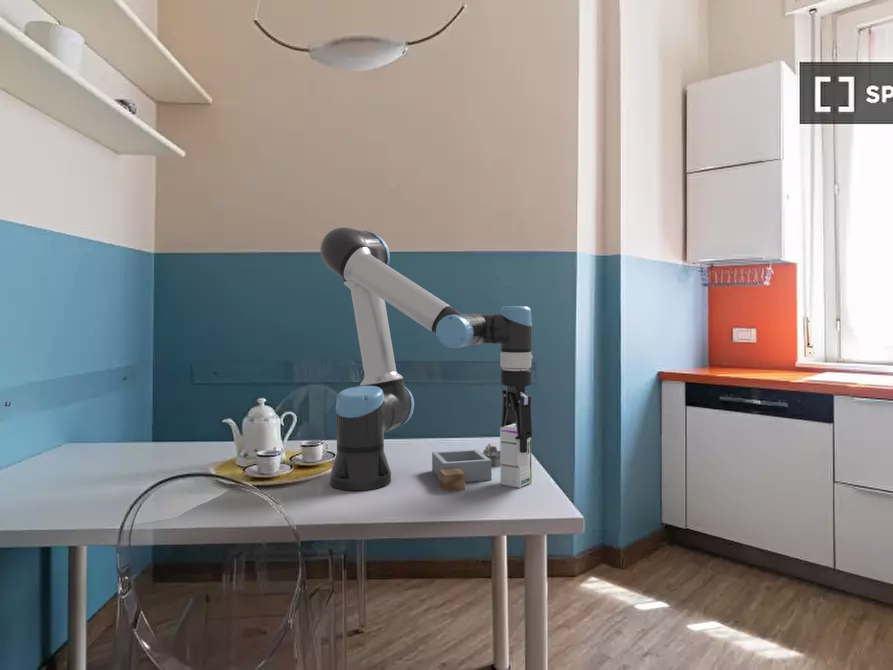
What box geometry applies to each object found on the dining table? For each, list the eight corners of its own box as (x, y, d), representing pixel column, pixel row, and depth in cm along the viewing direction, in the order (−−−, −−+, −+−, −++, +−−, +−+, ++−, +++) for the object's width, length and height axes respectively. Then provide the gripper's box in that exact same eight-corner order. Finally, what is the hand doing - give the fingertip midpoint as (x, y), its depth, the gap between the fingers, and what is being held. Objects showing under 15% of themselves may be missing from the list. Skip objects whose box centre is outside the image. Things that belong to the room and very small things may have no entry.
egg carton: (488, 456, 186) (488, 443, 186) (513, 459, 183) (513, 445, 183) (476, 465, 176) (477, 450, 176) (503, 467, 173) (503, 452, 173)
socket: (443, 483, 158) (443, 463, 157) (432, 470, 170) (432, 452, 169) (491, 479, 161) (491, 460, 160) (477, 467, 173) (477, 449, 173)
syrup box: (520, 488, 153) (520, 428, 152) (499, 484, 157) (499, 426, 156) (532, 483, 158) (532, 425, 157) (511, 479, 161) (511, 422, 160)
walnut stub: (444, 491, 151) (444, 475, 151) (439, 485, 156) (439, 469, 156) (465, 490, 153) (465, 473, 152) (459, 484, 157) (459, 468, 157)
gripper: (546, 372, 147) (546, 470, 148) (515, 364, 167) (515, 450, 168) (516, 373, 145) (516, 472, 146) (488, 365, 165) (488, 452, 166)
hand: (515, 460), depth 157 cm, fingers closed on syrup box, 8 cm apart
